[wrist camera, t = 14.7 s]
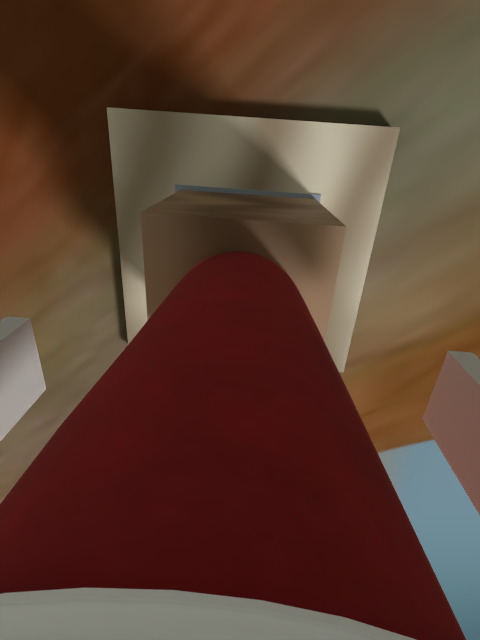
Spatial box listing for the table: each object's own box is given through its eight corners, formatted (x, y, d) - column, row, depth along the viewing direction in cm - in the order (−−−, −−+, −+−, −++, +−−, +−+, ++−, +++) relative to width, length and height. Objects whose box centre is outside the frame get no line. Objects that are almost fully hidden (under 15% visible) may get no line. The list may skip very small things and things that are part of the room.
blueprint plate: (392, 128, 20) (400, 127, 19) (339, 363, 27) (343, 373, 26) (114, 109, 20) (105, 107, 19) (134, 348, 27) (128, 356, 26)
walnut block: (315, 198, 21) (346, 226, 14) (297, 320, 24) (314, 392, 17) (180, 189, 21) (140, 212, 14) (182, 312, 24) (151, 380, 17)
